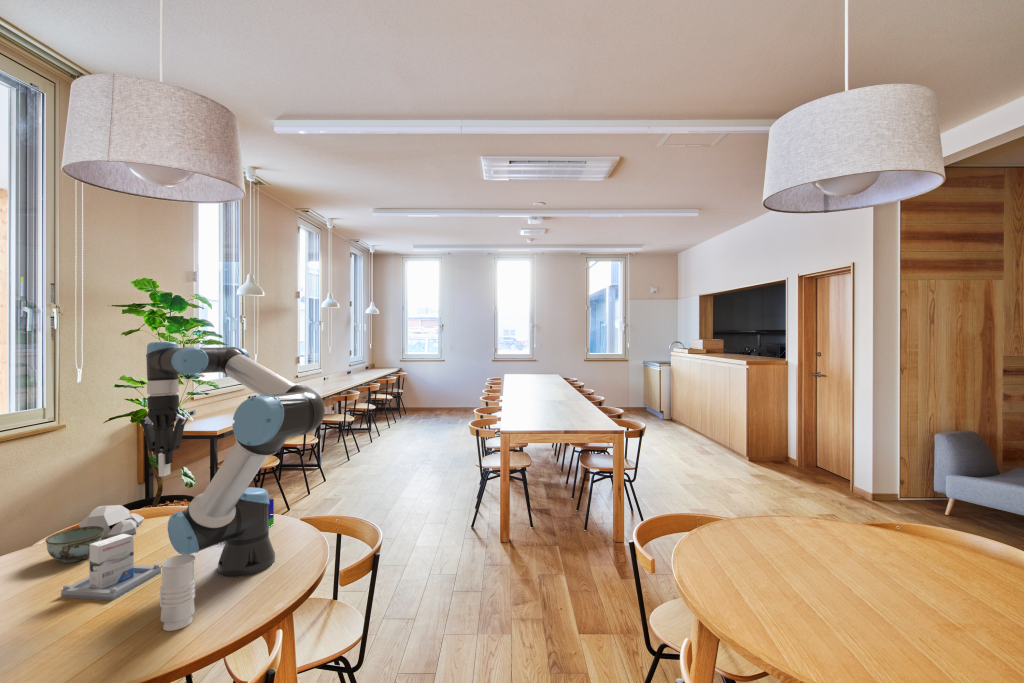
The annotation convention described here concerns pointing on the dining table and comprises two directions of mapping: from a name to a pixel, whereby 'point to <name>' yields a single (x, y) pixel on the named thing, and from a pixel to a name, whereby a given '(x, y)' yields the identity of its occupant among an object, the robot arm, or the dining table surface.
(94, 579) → the ink box
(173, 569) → the white ribbed cylinder
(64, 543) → the bowl
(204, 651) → the dining table surface
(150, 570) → the grey square tray
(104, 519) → the rock
